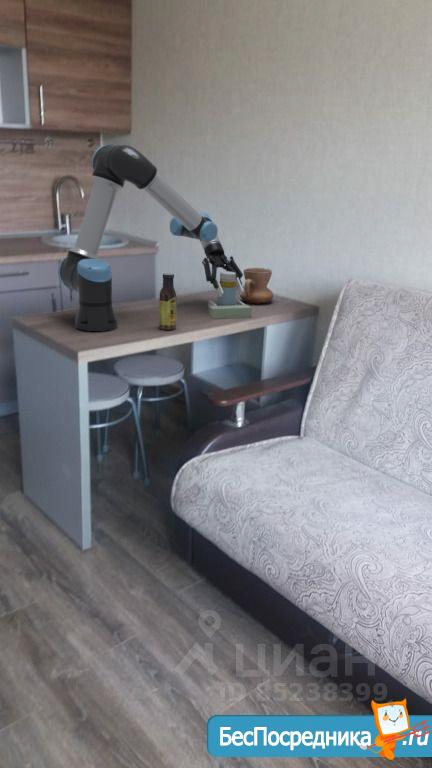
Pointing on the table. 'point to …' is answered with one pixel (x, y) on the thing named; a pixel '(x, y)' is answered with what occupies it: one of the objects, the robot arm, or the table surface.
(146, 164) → the robot arm
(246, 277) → the ceramic jug
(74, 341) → the table surface
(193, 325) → the table surface
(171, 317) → the sauce bottle
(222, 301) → the bottle
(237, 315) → the green-backed grey tray
